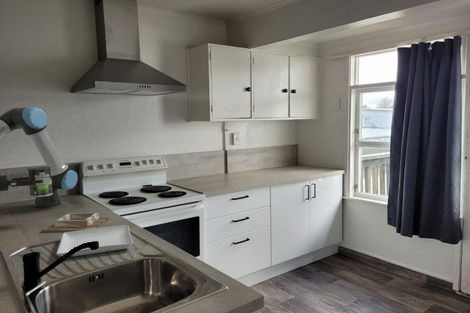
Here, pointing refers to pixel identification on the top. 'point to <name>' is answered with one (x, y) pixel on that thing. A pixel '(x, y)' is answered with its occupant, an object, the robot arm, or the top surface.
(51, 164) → the robot arm
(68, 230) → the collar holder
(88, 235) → the square plate
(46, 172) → the coffee can
